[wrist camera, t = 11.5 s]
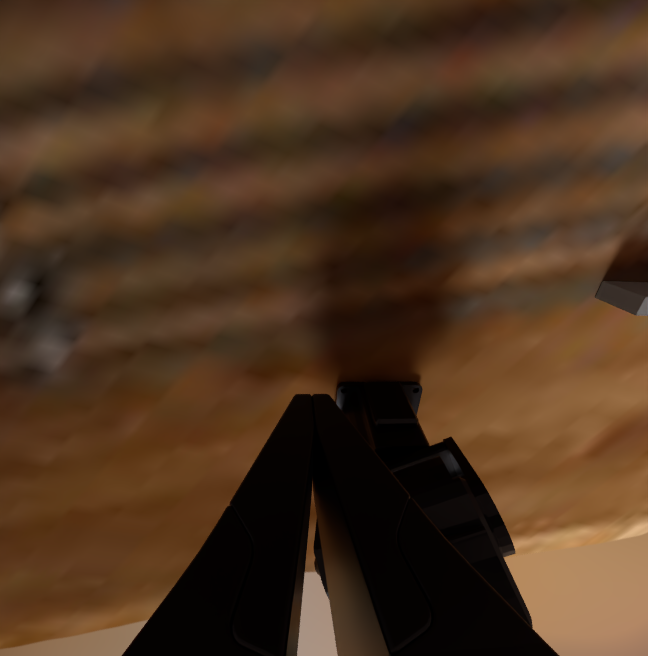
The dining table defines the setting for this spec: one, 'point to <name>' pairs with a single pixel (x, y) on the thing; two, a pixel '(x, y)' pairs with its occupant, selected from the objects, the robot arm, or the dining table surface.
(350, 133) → the dining table surface
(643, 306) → the grey frame
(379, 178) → the dining table surface
